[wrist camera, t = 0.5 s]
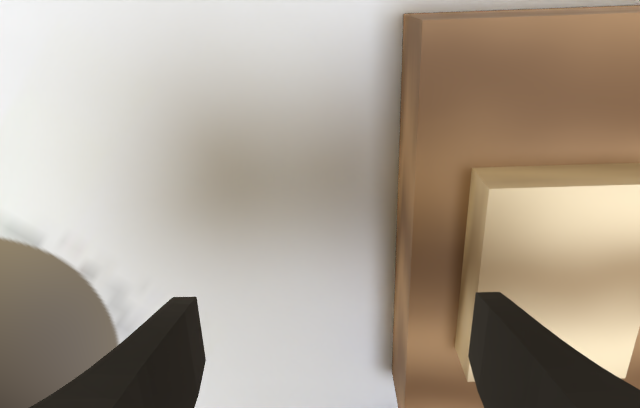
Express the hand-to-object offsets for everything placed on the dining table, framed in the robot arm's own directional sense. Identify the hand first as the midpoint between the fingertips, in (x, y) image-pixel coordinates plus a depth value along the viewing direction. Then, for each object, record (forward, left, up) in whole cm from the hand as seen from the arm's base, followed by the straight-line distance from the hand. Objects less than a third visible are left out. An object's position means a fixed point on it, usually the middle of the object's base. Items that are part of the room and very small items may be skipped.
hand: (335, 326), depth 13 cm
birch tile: (-2, -8, -6) cm, 10 cm away
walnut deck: (-2, -9, -10) cm, 14 cm away
